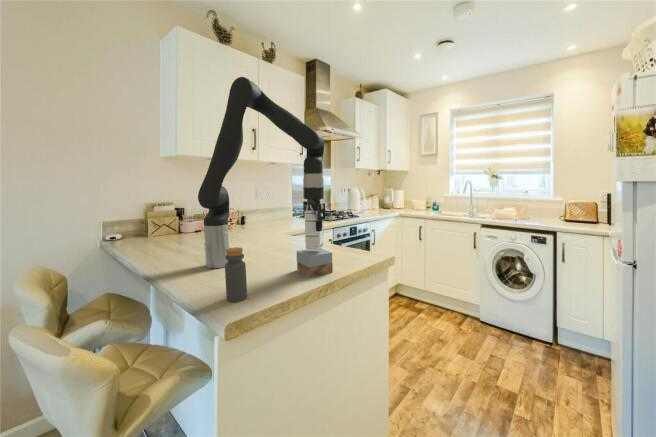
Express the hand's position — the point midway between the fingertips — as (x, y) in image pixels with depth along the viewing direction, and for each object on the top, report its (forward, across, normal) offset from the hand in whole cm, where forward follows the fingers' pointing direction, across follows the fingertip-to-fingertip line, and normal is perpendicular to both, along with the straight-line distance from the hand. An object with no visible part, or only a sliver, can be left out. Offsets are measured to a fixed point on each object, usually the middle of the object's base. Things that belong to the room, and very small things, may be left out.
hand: (314, 229), depth 113 cm
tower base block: (+17, 0, 0) cm, 17 cm away
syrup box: (+7, 0, 0) cm, 7 cm away
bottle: (+16, +12, -32) cm, 38 cm away
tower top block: (+13, 0, 0) cm, 13 cm away
